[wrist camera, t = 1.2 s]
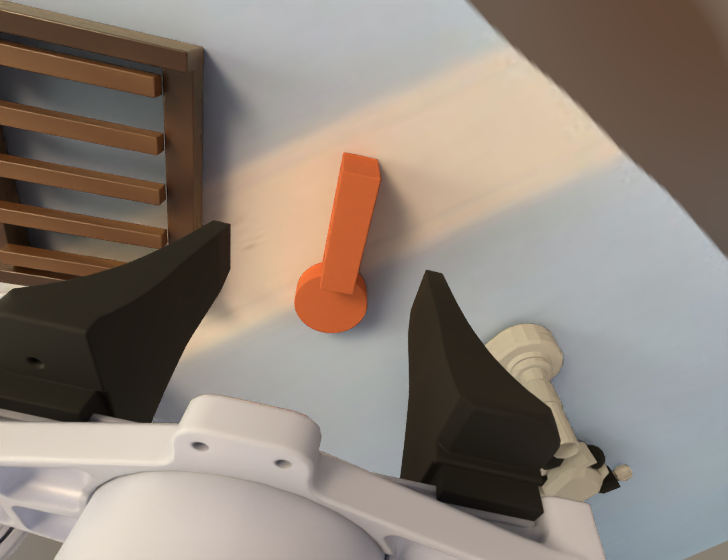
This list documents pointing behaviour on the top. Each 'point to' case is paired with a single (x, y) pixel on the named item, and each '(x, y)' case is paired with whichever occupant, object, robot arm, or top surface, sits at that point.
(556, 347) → the electronic device
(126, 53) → the rack
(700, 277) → the top surface
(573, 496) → the robot toy
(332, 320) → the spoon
